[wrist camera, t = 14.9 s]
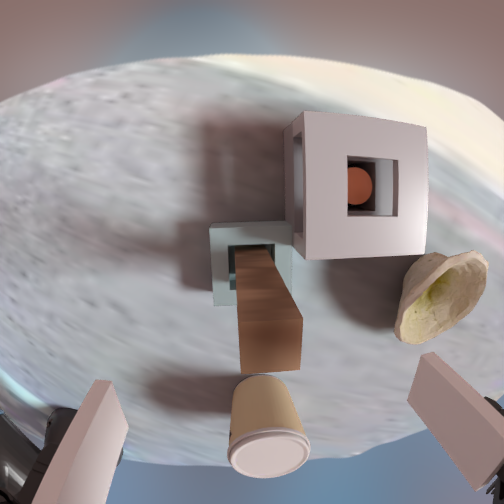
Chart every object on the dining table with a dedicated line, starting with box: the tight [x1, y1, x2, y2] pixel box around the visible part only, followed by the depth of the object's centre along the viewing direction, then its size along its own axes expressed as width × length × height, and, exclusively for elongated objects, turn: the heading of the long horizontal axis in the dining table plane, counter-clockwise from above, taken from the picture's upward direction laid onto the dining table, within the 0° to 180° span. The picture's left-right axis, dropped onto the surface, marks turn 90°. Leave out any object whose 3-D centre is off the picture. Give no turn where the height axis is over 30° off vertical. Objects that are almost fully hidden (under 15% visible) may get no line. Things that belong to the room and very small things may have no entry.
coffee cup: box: [227, 375, 310, 478], centre depth 32 cm, size 9×9×12 cm
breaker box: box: [283, 111, 428, 260], centre depth 27 cm, size 12×12×10 cm
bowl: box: [394, 250, 489, 344], centre depth 31 cm, size 15×14×10 cm
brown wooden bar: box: [234, 244, 303, 374], centre depth 23 cm, size 3×3×18 cm
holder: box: [209, 221, 292, 306], centre depth 31 cm, size 8×8×4 cm
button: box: [347, 167, 372, 205], centre depth 29 cm, size 4×4×5 cm
